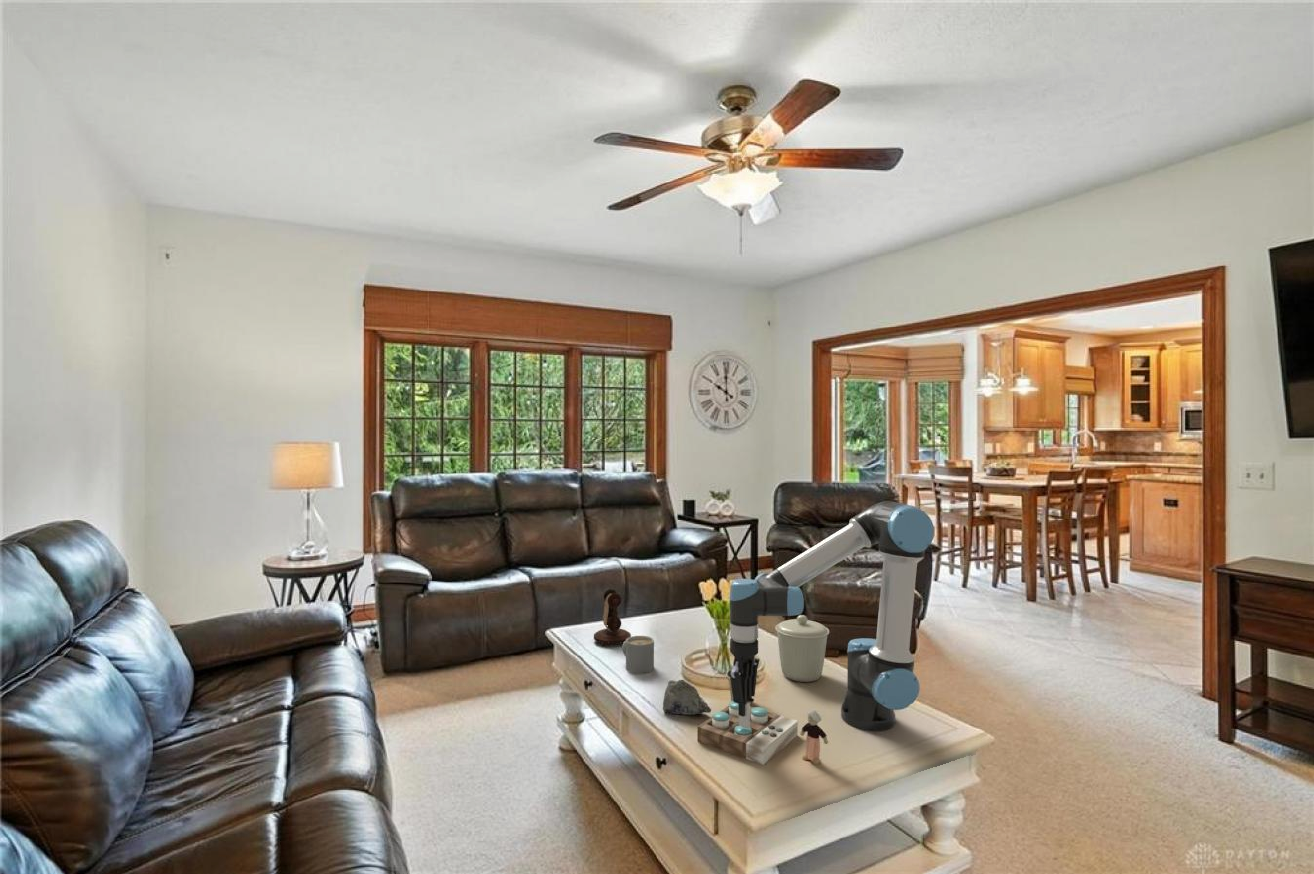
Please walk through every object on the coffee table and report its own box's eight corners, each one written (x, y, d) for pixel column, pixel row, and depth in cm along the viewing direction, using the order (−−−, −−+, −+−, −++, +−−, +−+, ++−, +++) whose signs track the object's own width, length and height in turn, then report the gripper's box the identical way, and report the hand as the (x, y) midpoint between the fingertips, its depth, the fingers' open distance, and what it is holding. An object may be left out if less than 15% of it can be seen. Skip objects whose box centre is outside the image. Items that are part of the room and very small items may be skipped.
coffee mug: (659, 669, 224) (659, 641, 224) (635, 675, 218) (635, 646, 218) (638, 658, 235) (639, 631, 235) (615, 663, 229) (615, 636, 229)
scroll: (590, 637, 259) (590, 588, 258) (625, 633, 263) (625, 585, 263) (598, 649, 244) (598, 597, 244) (635, 645, 249) (635, 594, 249)
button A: (770, 724, 178) (770, 710, 178) (762, 730, 174) (762, 716, 174) (755, 719, 181) (755, 705, 181) (747, 725, 177) (747, 711, 177)
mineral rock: (713, 717, 187) (713, 683, 187) (684, 727, 181) (684, 692, 181) (686, 702, 198) (686, 670, 197) (658, 710, 191) (658, 677, 191)
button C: (748, 717, 182) (748, 703, 182) (740, 723, 179) (740, 709, 178) (734, 713, 185) (734, 699, 185) (726, 718, 181) (726, 704, 181)
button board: (797, 735, 176) (797, 720, 176) (763, 765, 161) (763, 748, 160) (734, 715, 189) (734, 701, 189) (697, 741, 173) (697, 725, 173)
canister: (811, 664, 230) (812, 606, 229) (839, 684, 212) (839, 621, 212) (766, 669, 225) (766, 610, 225) (790, 689, 207) (790, 625, 207)
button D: (732, 729, 175) (732, 714, 175) (723, 735, 171) (723, 720, 171) (718, 724, 178) (718, 710, 178) (709, 730, 174) (709, 716, 174)
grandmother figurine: (796, 759, 163) (796, 710, 163) (801, 753, 167) (801, 704, 167) (826, 767, 159) (826, 717, 159) (830, 761, 163) (831, 711, 163)
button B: (754, 743, 171) (754, 728, 171) (746, 750, 167) (746, 734, 167) (739, 738, 174) (739, 723, 174) (731, 744, 170) (731, 729, 170)
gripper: (743, 629, 178) (744, 713, 178) (719, 642, 167) (719, 731, 167) (768, 634, 173) (768, 721, 173) (744, 648, 163) (744, 739, 163)
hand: (744, 726), depth 170 cm, fingers closed
